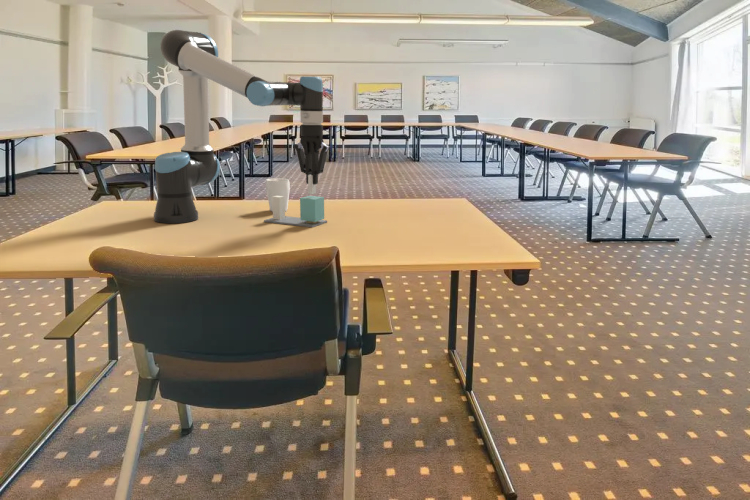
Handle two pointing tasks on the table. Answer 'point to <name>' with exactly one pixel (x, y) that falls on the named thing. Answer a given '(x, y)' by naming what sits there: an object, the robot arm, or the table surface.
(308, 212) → the teal cube block
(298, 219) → the post board
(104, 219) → the table surface
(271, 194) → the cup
